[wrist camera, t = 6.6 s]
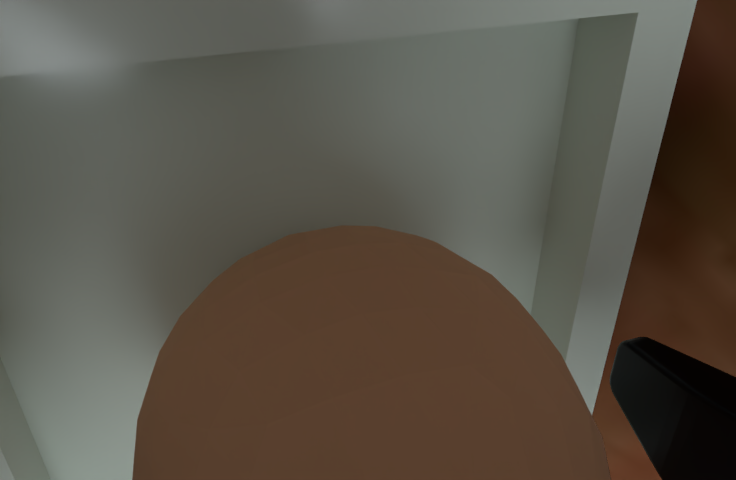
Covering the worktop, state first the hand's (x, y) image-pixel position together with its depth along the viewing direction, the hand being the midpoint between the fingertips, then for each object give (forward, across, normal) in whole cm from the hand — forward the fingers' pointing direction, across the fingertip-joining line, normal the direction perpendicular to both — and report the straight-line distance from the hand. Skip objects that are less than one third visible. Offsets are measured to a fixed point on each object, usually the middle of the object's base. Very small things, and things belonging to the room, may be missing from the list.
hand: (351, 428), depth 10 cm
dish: (+4, 0, 0) cm, 4 cm away
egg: (+3, 0, 0) cm, 3 cm away
